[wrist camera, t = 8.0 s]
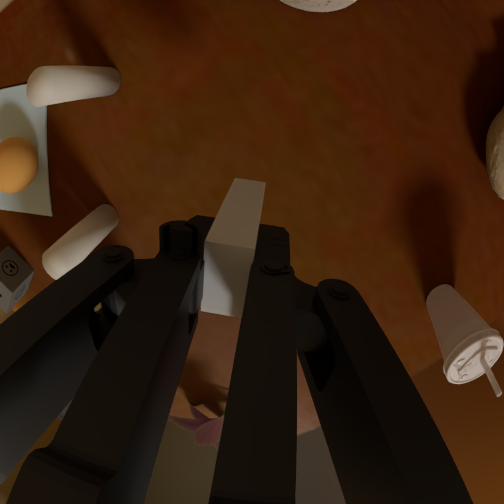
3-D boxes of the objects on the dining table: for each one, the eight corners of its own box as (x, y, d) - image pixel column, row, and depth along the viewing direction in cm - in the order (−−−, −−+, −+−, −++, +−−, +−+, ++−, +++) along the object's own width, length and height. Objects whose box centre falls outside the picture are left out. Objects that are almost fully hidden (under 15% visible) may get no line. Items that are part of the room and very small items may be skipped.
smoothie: (468, 301, 29) (522, 393, 17) (423, 329, 32) (464, 428, 19) (457, 262, 27) (526, 359, 15) (407, 293, 29) (457, 403, 17)
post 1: (122, 66, 21) (57, 63, 13) (119, 95, 22) (54, 105, 14) (96, 68, 21) (27, 69, 13) (94, 96, 22) (25, 108, 14)
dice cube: (9, 244, 30) (-16, 265, 26) (34, 270, 32) (12, 293, 27) (2, 267, 32) (-19, 288, 28) (26, 291, 34) (6, 314, 29)
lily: (167, 372, 39) (148, 436, 34) (231, 383, 32) (210, 463, 27) (223, 394, 47) (208, 448, 42) (285, 403, 40) (270, 467, 35)
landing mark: (47, 80, 21) (46, 80, 21) (52, 215, 28) (51, 216, 27) (-30, 97, 21) (-31, 98, 21) (-21, 205, 28) (-22, 206, 27)
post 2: (118, 205, 27) (65, 253, 19) (119, 230, 28) (71, 283, 20) (94, 202, 27) (39, 247, 19) (96, 227, 28) (45, 277, 20)
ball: (-24, 149, 18) (-2, 138, 22) (-15, 206, 20) (4, 187, 25) (25, 136, 20) (42, 128, 24) (32, 196, 22) (47, 179, 27)
